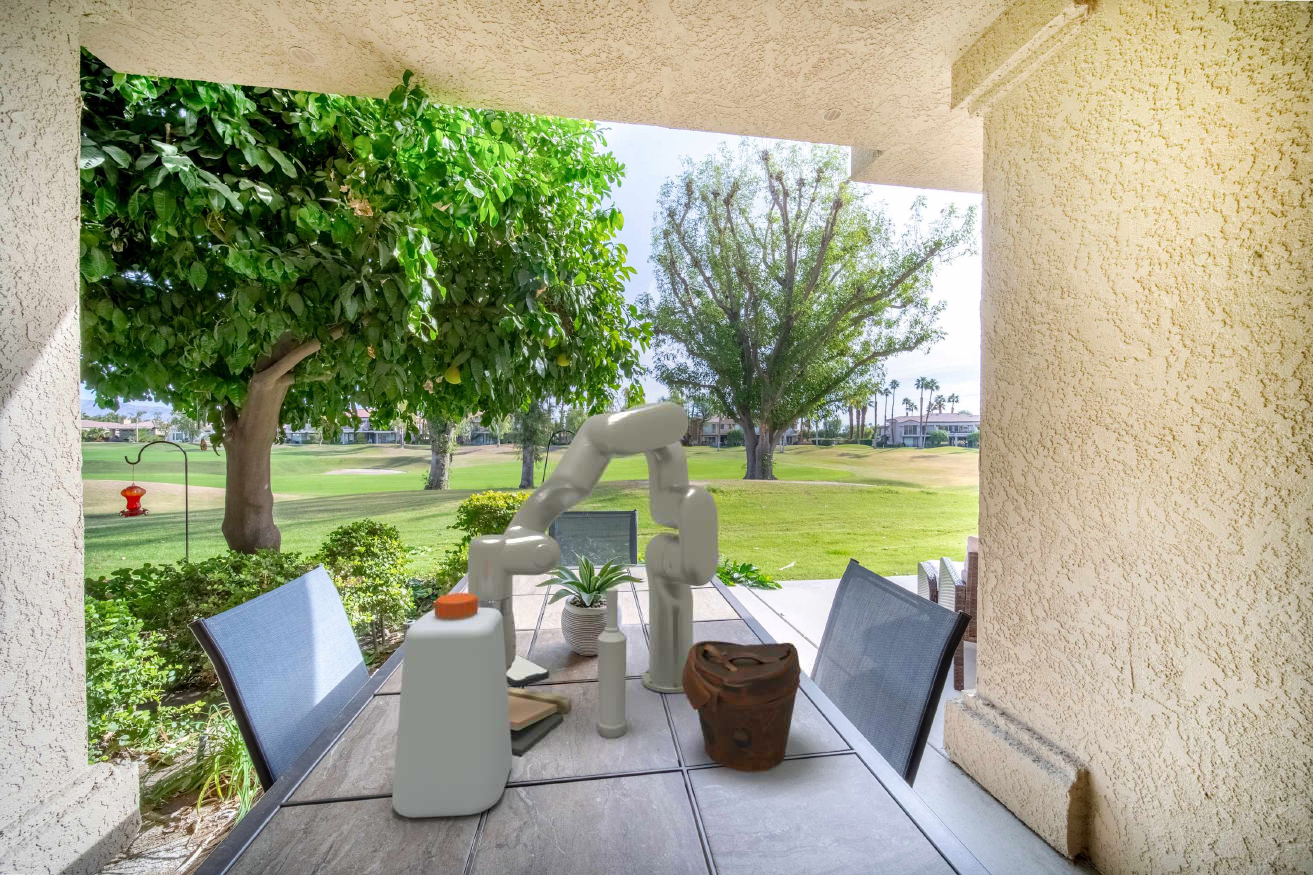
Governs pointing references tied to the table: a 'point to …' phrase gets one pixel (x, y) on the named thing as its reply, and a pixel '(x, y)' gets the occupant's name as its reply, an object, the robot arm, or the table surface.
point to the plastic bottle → (453, 712)
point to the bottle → (612, 672)
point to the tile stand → (543, 699)
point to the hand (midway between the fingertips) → (489, 712)
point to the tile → (527, 711)
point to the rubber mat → (533, 733)
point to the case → (743, 700)
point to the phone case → (525, 672)
